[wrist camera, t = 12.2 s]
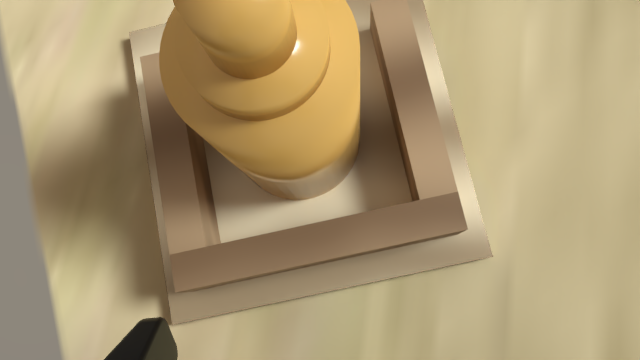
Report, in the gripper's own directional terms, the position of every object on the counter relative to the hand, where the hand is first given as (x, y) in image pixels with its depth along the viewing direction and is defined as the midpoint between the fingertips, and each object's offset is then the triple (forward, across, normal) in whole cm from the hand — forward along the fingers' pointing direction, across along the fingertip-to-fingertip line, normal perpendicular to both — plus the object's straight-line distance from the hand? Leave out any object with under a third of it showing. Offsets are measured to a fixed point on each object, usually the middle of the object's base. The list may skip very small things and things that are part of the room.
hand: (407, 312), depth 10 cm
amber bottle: (+14, +3, +4) cm, 15 cm away
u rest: (+15, +3, +4) cm, 16 cm away
